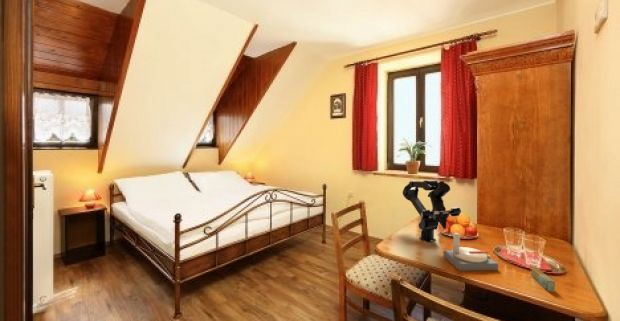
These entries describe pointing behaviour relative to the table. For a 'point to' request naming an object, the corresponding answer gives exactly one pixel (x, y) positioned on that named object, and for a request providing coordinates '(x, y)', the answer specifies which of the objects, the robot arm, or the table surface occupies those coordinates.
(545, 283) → the medication box
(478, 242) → the table surface
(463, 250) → the dial
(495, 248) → the table surface
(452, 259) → the level stand
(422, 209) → the robot arm
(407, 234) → the table surface
